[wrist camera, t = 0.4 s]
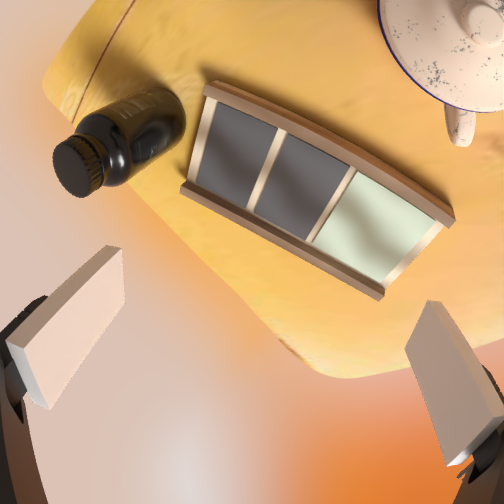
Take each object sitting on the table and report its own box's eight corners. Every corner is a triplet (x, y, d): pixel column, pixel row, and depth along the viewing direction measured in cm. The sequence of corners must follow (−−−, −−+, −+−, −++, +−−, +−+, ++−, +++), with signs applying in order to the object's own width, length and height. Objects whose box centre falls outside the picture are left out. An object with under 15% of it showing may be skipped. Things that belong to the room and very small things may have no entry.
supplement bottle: (124, 108, 30) (36, 157, 21) (163, 73, 26) (62, 114, 17) (158, 158, 32) (79, 219, 24) (201, 129, 28) (114, 191, 20)
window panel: (216, 79, 24) (205, 84, 23) (452, 207, 23) (455, 220, 22) (189, 183, 33) (179, 192, 32) (380, 287, 32) (378, 301, 30)
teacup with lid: (369, -30, 14) (353, -82, 6) (487, -19, 10) (557, -44, 2) (389, 117, 21) (389, 182, 13) (496, 128, 17) (557, 203, 9)
